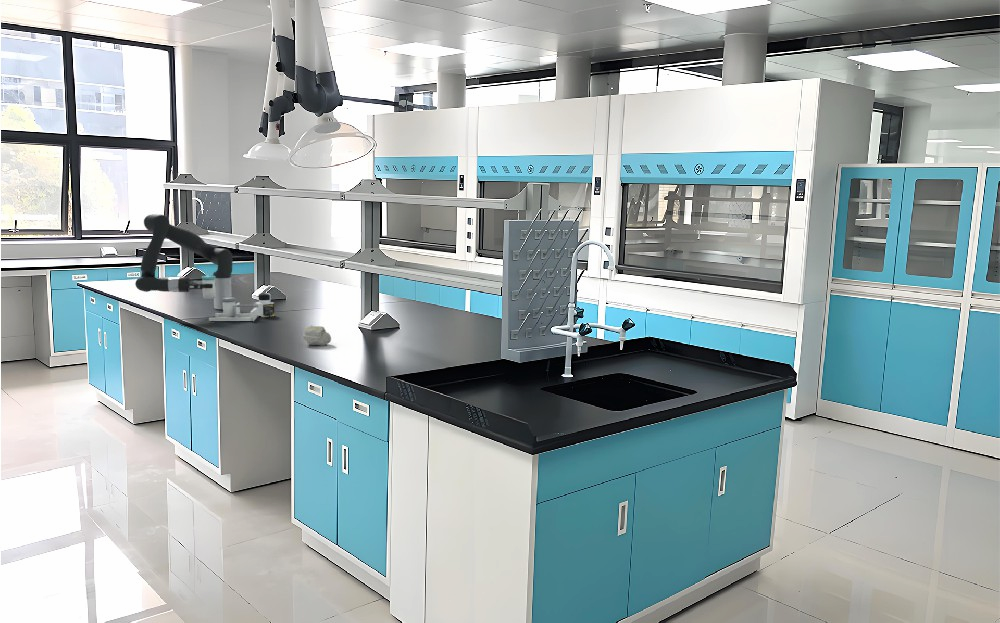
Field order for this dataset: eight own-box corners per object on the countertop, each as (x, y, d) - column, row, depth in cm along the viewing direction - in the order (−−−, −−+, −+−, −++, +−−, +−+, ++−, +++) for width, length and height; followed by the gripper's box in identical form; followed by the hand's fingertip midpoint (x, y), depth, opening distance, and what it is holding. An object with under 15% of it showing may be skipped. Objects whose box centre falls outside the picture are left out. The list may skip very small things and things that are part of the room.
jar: (204, 296, 390) (203, 275, 388) (217, 296, 391) (216, 275, 389) (201, 298, 384) (200, 277, 382) (214, 298, 385) (213, 277, 383)
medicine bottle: (263, 317, 399) (262, 294, 397) (255, 315, 403) (254, 293, 401) (274, 315, 404) (274, 293, 403) (266, 314, 409) (266, 292, 407)
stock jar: (224, 318, 393) (223, 297, 391) (237, 318, 394) (236, 297, 392) (221, 320, 387) (221, 299, 385) (234, 320, 388) (234, 299, 386)
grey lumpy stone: (331, 347, 334) (329, 344, 343) (332, 328, 333) (330, 326, 343) (303, 346, 330) (301, 343, 339) (304, 327, 329) (302, 324, 339)
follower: (238, 317, 396) (237, 302, 395) (260, 317, 398) (259, 302, 396) (234, 321, 386) (234, 305, 385) (257, 321, 388) (256, 305, 387)
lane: (215, 316, 397) (215, 307, 396) (257, 316, 400) (257, 307, 400) (208, 322, 381) (208, 312, 381) (252, 322, 385) (252, 312, 384)
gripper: (175, 279, 376) (210, 279, 379) (182, 275, 390) (216, 276, 393) (175, 294, 378) (211, 294, 380) (183, 290, 392) (217, 290, 394)
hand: (213, 285), depth 387 cm, fingers closed on jar, 6 cm apart
